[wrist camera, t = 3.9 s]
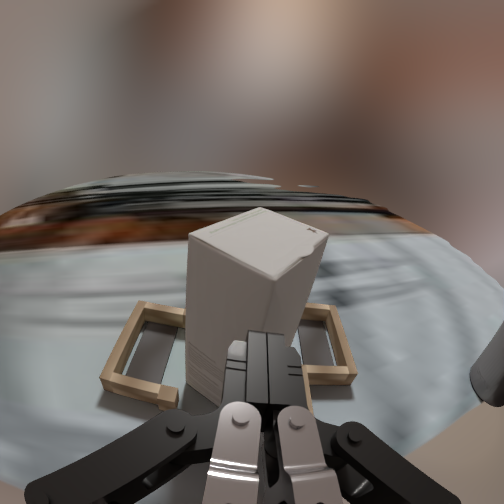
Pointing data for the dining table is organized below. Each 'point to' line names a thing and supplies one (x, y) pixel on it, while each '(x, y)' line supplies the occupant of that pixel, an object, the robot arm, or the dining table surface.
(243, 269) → the skincare box
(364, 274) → the dining table surface
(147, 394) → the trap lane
